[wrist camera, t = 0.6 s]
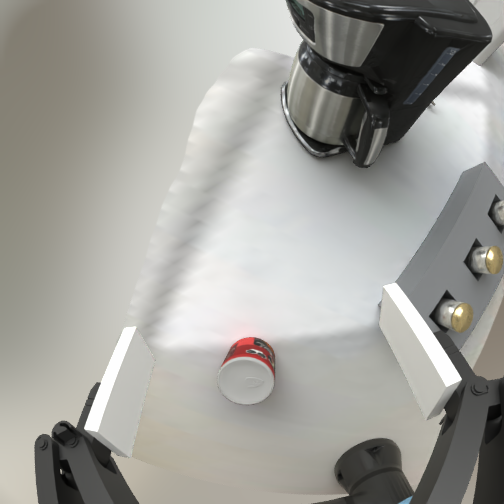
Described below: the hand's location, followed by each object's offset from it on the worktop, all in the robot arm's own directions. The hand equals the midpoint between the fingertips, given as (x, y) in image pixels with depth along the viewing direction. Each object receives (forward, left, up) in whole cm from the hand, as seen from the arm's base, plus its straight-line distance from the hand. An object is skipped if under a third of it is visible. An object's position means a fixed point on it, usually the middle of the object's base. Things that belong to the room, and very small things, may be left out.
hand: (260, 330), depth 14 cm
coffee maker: (+6, -35, -32) cm, 48 cm away
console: (-25, -26, -32) cm, 48 cm away
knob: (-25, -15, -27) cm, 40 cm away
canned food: (-6, +12, -32) cm, 35 cm away
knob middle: (-25, -26, -27) cm, 45 cm away
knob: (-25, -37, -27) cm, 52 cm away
